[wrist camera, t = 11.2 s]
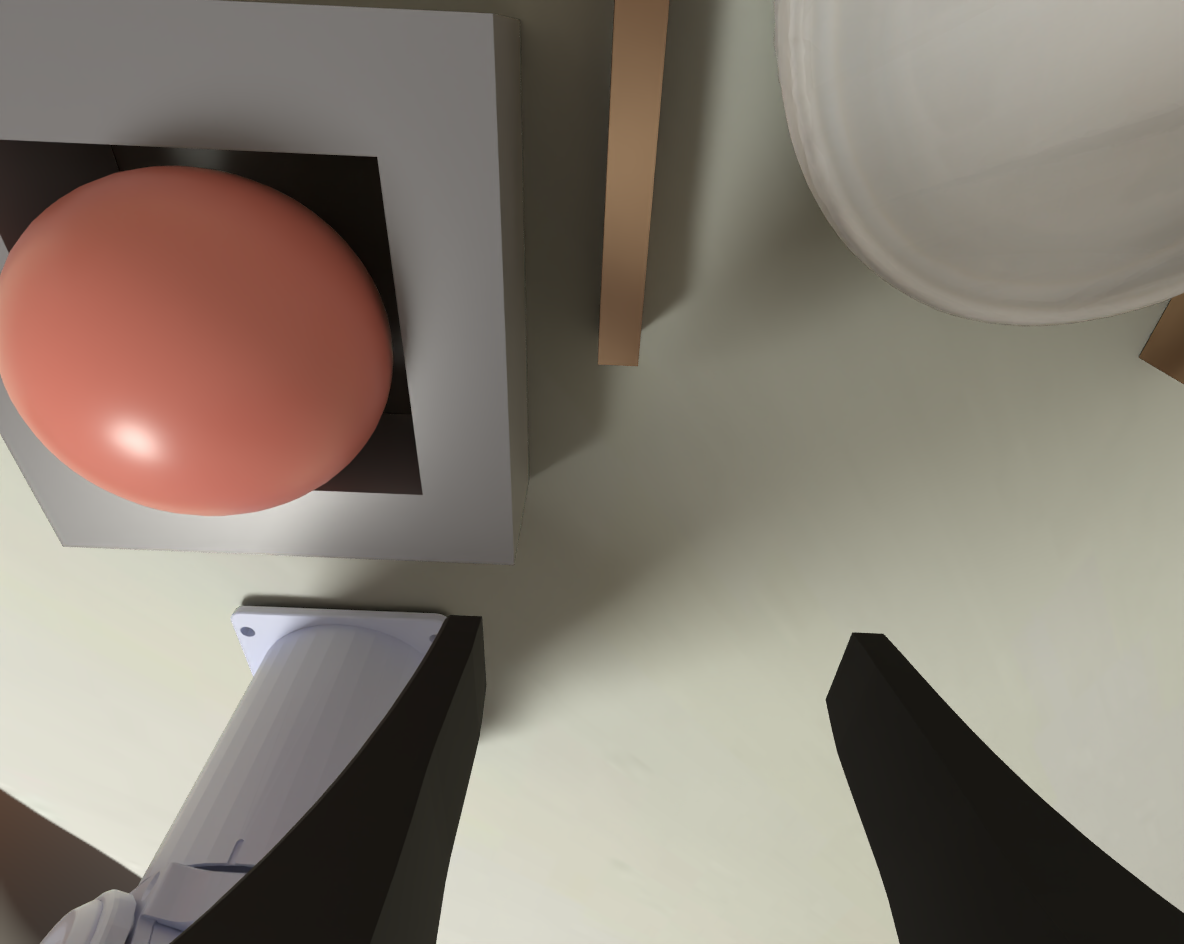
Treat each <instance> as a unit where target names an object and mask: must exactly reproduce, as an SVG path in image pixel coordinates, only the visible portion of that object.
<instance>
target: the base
mask: <svg viewBox="0 0 1184 944" xmlns="http://www.w3.org/2000/svg"><path fill="white" fill-rule="evenodd" d="M110 145H131V146H153V147H175V148H197V149H219V150H241V151H262V152H284V153H306V154H328V155H350V156H372V157H377V159H378V166H379V174H380V181H381V188H382V196H383V203H384V211H385V218H386V225H387V233H388V240H389V248H390V255H391V263H392V270H393V277H394V285H395V292H396V300H397V307H398V314H399V322H400V329H401V337H402V344H403V351H404V359H405V366H406V374H407V381H408V389H409V396H410V403H411V411H412V415H410V414H386V413H382V415H381V418H380V420H379V422H378V425H377V427H376V429H375V430H374V432H373V434H372V435H371V437H370V438H369V440H368V442H367V443H366V444H365V446H364V447H363V448H362V450H361V451H360V452H359V453H358V454H357V456H356V457H355V458H354V459H353V460H352V461H351V462H350V463H349V464H348V465H347V466H346V467H345V468H344V469H343V470H341V471H340V472H339V473H338V474H337V475H335V476H334V477H333V478H332V479H330V480H329V481H328V482H327V483H325V484H323V485H322V486H320V487H318V488H316V489H315V490H313V491H311V492H309V493H308V494H306V495H304V496H302V497H300V498H298V499H296V500H293V501H290V502H288V503H285V504H283V505H279V506H276V507H273V508H270V509H266V510H262V511H258V512H253V513H245V514H237V515H228V516H199V515H188V514H178V513H172V512H166V511H161V510H157V509H153V508H150V507H146V506H142V505H140V504H137V503H134V502H132V501H129V500H126V499H124V498H121V497H119V496H117V495H115V494H112V493H110V492H108V491H106V490H104V489H102V488H100V487H98V486H96V485H95V484H93V483H91V482H89V481H88V480H86V479H85V478H83V477H82V476H80V475H79V474H77V473H76V472H74V471H73V470H71V469H70V468H69V467H68V466H66V465H65V464H64V463H63V462H61V461H60V460H59V459H58V458H57V457H56V456H55V455H54V454H52V453H51V452H50V451H49V450H48V449H47V448H46V447H45V446H44V445H43V443H42V442H41V441H40V440H39V439H38V438H37V437H36V436H35V434H34V433H33V432H32V431H31V429H30V428H29V427H28V425H27V424H26V423H25V421H24V420H23V419H22V417H21V416H20V414H19V413H18V411H17V409H16V408H15V406H14V404H13V403H12V401H11V399H10V397H9V395H8V393H7V390H6V388H5V386H4V384H3V381H2V378H1V374H0V434H1V436H2V438H3V440H4V442H5V443H6V445H7V447H8V449H9V451H10V452H11V454H12V456H13V458H14V460H15V461H16V463H17V465H18V467H19V469H20V470H21V472H22V474H23V476H24V478H25V479H26V481H27V483H28V485H29V487H30V488H31V490H32V492H33V494H34V496H35V497H36V499H37V501H38V503H39V504H40V506H41V508H42V510H43V512H44V513H45V515H46V517H47V519H48V521H49V522H50V524H51V526H52V528H53V530H54V531H55V533H56V535H57V537H58V539H59V540H60V542H61V544H62V546H63V547H86V548H110V549H135V550H159V551H184V552H208V553H232V554H257V555H281V556H306V557H330V558H355V559H379V560H404V561H428V562H453V563H477V564H502V565H514V563H515V558H516V552H517V546H518V540H519V535H520V529H521V523H522V517H523V511H524V506H525V500H526V494H527V488H528V483H529V455H528V404H527V352H526V301H525V250H524V199H523V148H522V97H521V45H520V20H519V19H515V18H510V17H506V16H502V15H497V14H493V13H473V12H452V11H431V10H410V9H389V8H368V7H347V6H326V5H305V4H284V3H263V2H242V1H221V0H0V274H1V272H2V269H3V267H4V264H5V262H6V260H7V257H8V255H9V253H10V251H11V249H12V248H13V246H14V245H15V244H16V242H17V241H18V239H19V238H20V236H21V235H22V234H23V232H24V231H25V230H26V229H27V227H28V226H29V225H30V224H31V222H32V221H33V220H34V219H36V218H37V217H38V216H39V215H40V214H41V213H42V212H43V211H44V210H45V209H46V208H48V207H49V206H50V205H52V204H53V203H54V202H56V201H57V200H58V199H60V198H61V197H63V196H65V195H66V194H68V193H70V192H71V191H73V190H74V189H76V188H78V187H80V186H82V185H85V184H87V183H90V182H92V181H95V180H97V179H100V178H103V177H105V176H108V175H111V174H113V173H117V172H119V169H118V166H117V163H116V160H115V157H114V154H113V151H112V149H111V146H110Z"/></svg>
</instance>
